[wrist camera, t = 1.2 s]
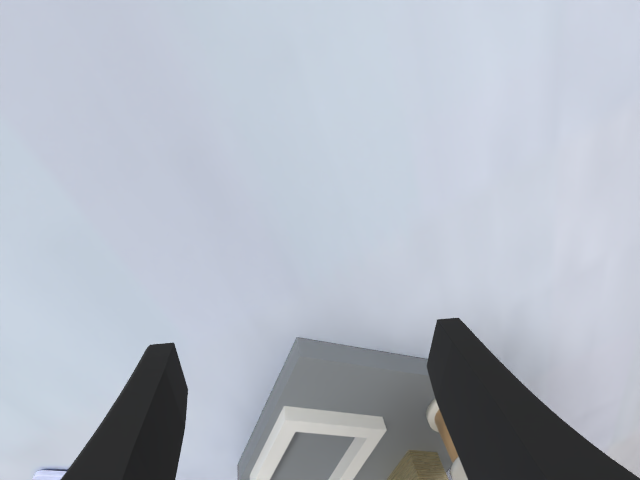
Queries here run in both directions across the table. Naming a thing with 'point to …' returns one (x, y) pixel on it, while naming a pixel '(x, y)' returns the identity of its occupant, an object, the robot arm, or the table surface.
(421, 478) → the brass tab
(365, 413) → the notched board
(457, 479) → the spool
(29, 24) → the table surface
